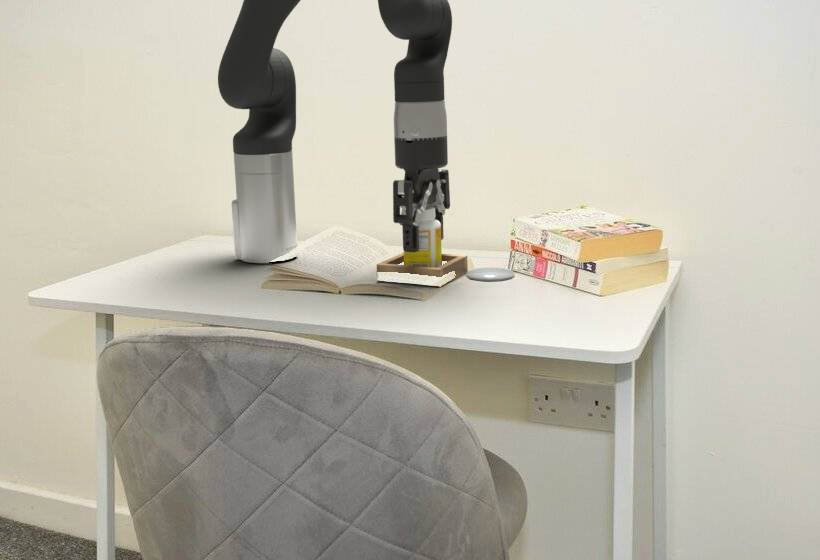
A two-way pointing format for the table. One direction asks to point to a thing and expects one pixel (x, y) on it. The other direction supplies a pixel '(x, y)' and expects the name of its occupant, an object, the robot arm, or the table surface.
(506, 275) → the coaster
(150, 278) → the table surface
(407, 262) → the supplement bottle
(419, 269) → the box frame
